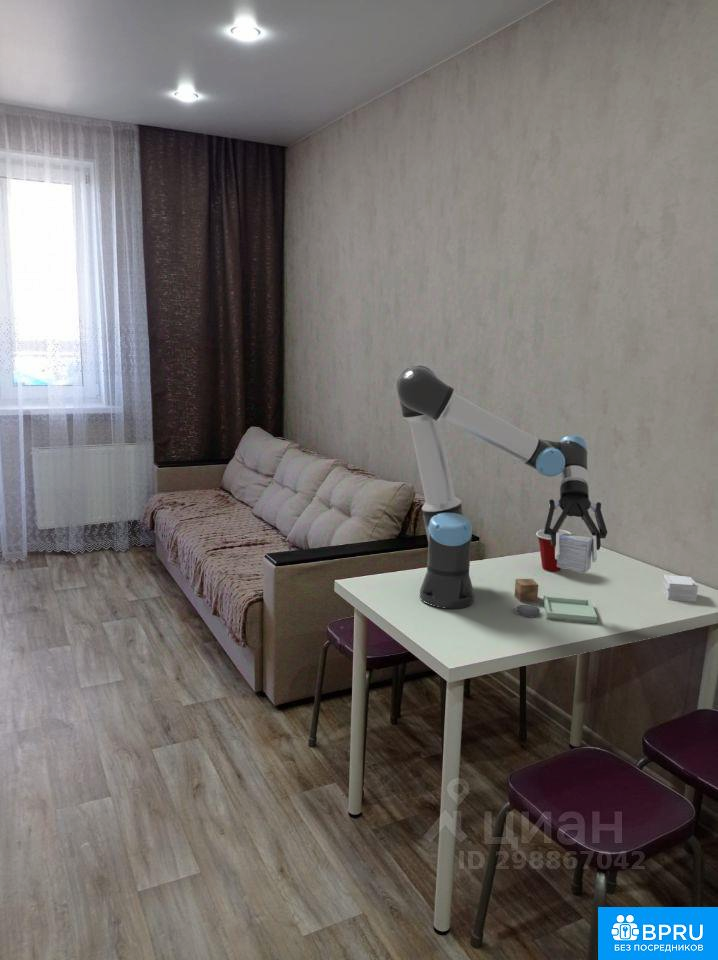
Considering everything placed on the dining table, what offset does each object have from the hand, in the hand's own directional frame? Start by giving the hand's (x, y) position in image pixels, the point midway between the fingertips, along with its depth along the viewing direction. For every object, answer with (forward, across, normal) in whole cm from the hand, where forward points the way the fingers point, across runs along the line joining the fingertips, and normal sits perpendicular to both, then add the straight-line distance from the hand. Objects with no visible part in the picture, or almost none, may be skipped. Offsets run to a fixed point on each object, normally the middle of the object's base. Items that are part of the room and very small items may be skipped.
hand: (575, 558), depth 190 cm
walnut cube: (+4, +11, -20) cm, 23 cm away
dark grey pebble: (+12, +11, -12) cm, 20 cm away
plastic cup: (-16, +2, -40) cm, 43 cm away
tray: (+9, 0, -14) cm, 17 cm away
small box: (-5, -33, -29) cm, 44 cm away
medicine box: (+1, 0, -5) cm, 5 cm away
